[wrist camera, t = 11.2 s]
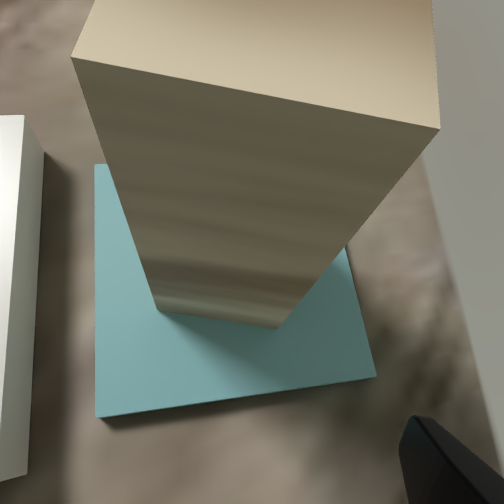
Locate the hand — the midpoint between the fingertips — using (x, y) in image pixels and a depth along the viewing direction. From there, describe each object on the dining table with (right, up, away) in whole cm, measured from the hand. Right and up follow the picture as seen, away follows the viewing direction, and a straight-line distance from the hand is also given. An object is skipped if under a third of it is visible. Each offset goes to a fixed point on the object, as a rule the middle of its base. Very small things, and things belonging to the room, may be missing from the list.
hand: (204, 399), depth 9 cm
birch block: (0, +3, +9) cm, 10 cm away
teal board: (0, +2, +10) cm, 10 cm away
